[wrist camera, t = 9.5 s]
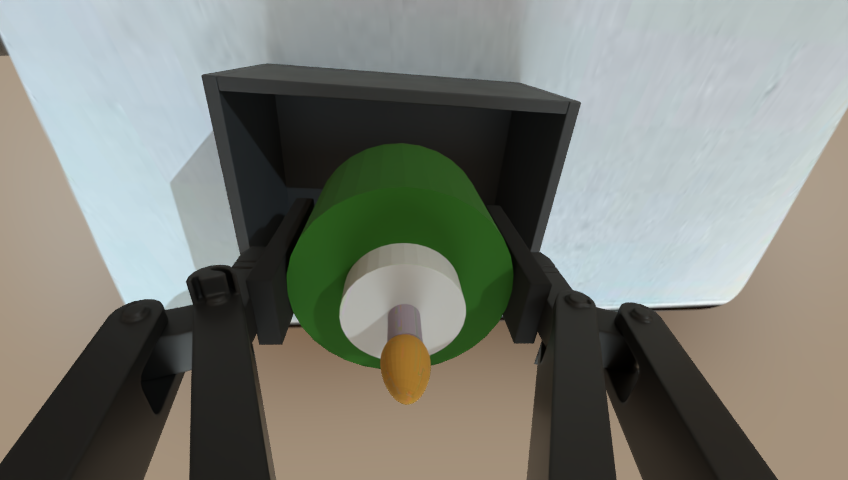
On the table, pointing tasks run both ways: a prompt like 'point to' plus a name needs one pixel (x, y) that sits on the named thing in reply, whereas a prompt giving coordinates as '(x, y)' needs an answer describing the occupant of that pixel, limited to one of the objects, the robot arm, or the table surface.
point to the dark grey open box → (382, 137)
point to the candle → (399, 265)
